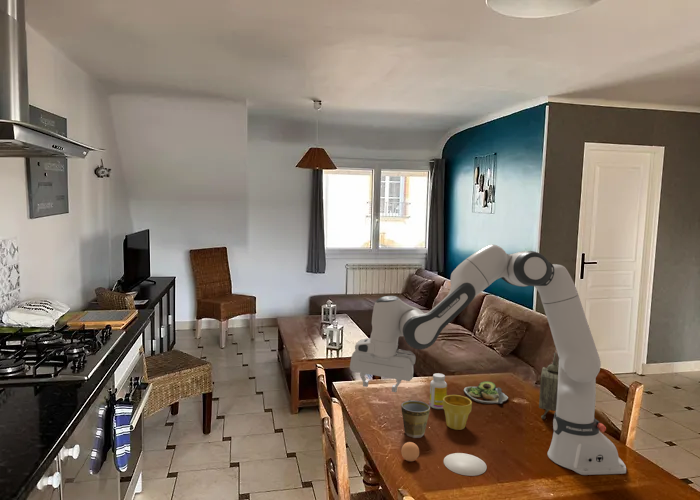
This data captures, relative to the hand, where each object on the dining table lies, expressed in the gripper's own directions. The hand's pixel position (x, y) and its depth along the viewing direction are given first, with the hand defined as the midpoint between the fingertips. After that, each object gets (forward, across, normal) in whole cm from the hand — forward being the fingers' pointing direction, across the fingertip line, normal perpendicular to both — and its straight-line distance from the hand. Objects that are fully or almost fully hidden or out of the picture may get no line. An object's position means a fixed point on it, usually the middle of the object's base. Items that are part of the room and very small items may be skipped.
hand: (379, 388), depth 153 cm
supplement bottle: (+21, -17, -43) cm, 51 cm away
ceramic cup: (+21, -10, -18) cm, 29 cm away
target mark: (+19, -29, -1) cm, 35 cm away
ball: (+17, -12, +2) cm, 21 cm away
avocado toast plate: (+21, -36, -62) cm, 74 cm away
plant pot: (+20, -25, -27) cm, 42 cm away
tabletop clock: (+19, -60, -49) cm, 80 cm away
